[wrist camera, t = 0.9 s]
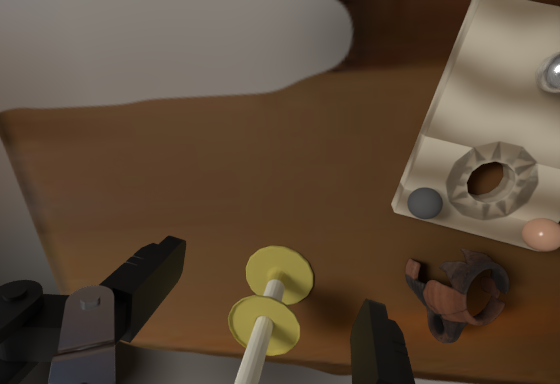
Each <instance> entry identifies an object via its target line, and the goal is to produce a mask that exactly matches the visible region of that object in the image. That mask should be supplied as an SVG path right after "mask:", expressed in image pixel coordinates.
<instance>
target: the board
mask: <svg viewBox="0 0 560 384" xmlns="http://www.w3.org/2000/svg"><path fill="white" fill-rule="evenodd" d="M557 52H560V7H559V6H554V5H549V4H544V3H539V2H533V1H528V0H472V1H471V4H470V6H469V9H468V11H467V14H466V16H465V19H464V22H463V24H462V27H461V29H460V32H459V34H458V37H457V39H456V42H455V44H454V47H453V49H452V52H451V54H450V57H449V59H448V62H447V64H446V67H445V70H444V72H443V75H442V77H441V80H440V82H439V85H438V87H437V90H436V92H435V95H434V97H433V100H432V102H431V105H430V107H429V110H428V113H427V115H426V118H425V120H424V123H423V125H422V128H421V130H420V133H419V135H418V138H417V140H416V143H415V145H414V148H413V150H412V153H411V156H410V158H409V161H408V163H407V166H406V168H405V171H404V173H403V176H402V178H401V181H400V183H399V186H398V188H397V191H396V193H395V196H394V198H393V201H392V204H391V205H392V207H393V210H394V212H395V213H399V214H402V215H406V216H410V217H413V218H417V217H415V216H414V215H412V214H411V212H410V211H409V209H408V206H407V201H408V197H409V195H410V194H411V193H412V192H413V191H414V190H416V189H418V188H422V187H428V188H432V189H434V190H436V191H437V192H438V193H439V194H440V196H441V197H442V200H443V207H442V210H441V212H440V213H439V214H438V215H437V216H436V217H434V218H431V219H421V220H424V221H428V222H432V223H435V224H439V225H443V226H447V227H450V228H454V229H458V230H461V231H465V232H469V233H472V234H476V235H480V236H483V237H487V238H491V239H495V240H498V241H502V242H506V243H509V244H513V245H517V246H520V247H524V248H528V249H531V250H534V249H532V248H531V247H529V246H528V245H527V244H526V243H525V242H524V241H523V239H522V236H521V230H522V228H523V226H524V225H525V224H526V223H527V222H528V221H530V220H532V219H536V218H547V219H550V220H553V221H555V222H557V223H558V222H559V221H560V93H550V92H546V91H544V90H542V89H541V88H540V87H539V86H538V85H537V83H536V81H535V73H536V70H537V68H538V66H539V65H540V64H541V62H542V61H543V60H545V59H546V58H547V57H549V56H550V55H552V54H554V53H557ZM494 161H496V162H499V163H500V164H501V165H502V166H503V174H504V176H503V178H502V180H501V182H500V184H499V186H498V187H496V188H495V189H494V190H492V191H491V192H489V193H486V194H481V195H474V194H470V193H468V190H467V181H468V179H469V176H470V174H471V172H472V171H474V170H475V169H476V168H478V167H479V166H480V165H482V164H485V163H490V162H494ZM417 219H420V218H417ZM535 251H538V250H535ZM539 252H540V251H539Z"/></svg>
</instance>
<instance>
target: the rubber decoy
mask: <svg viewBox="0 0 560 384" xmlns="http://www.w3.org/2000/svg"><path fill="white" fill-rule="evenodd" d="M407 206H408V209H409V211H410V212H411V214H412V215H414V216H415V217H417V218H420V219H431V218H434V217H436V216H437V215H438V214H439V213H440V212H441V210H442V207H443V200H442V197H441V196H440V194H439V193H438V192H437V191H436V190H434V189H432V188H428V187H422V188H418V189H416V190H414V191H413V192H412V193H411V194H410V195H409V197H408V201H407Z"/></svg>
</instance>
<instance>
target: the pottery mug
mask: <svg viewBox="0 0 560 384" xmlns="http://www.w3.org/2000/svg"><path fill="white" fill-rule="evenodd" d="M461 251H462V252H463V254H464V256H465V259H466V262H467V264H466V263H464V262H461V261H454V262H449V261H446V262H444V263H442V264H441V265H440V267H439V268H440V269H441V270H442V271H444V272H446V275H447V277H448V278H449V280H450V282H451V285H452V287H449V286H446V285H444V284H441V283H440V282H438V281H436V280H430V281H428V282H427V284H425V283H422V282H420V281H419V280H418V273H419V269H420V266H421V264H420V263H418V262H416V261H414V260H412V259H409V260H408V262H407V265H406V281H407V283H408V285H409V287H410V288H411V289H412V290H413V291H414V293H415V294H416V295H417V296H418V298H419V299H420V300H421V301H422V303H423V304H424V305H425V306H426V307H427V318H428V326H429V329H430V331H431V333H432V335H433V336H434V337H435V338H436V339H437V340H438V341H441V342H442V343H453V342H455V341H456V340H457V339H458V338H459V336H460V334H461V332H462V329H463V328H464V326H466V325H467V324H468V323H470V324H472V325H475V326H482V325H486V324H488V323H490V322H492V321H493V320H494V319H496V317H497V316H498V315H499V314H500V313H501V311H502V310H503V308H504V306H505V303H504V302H502V301H500V300H498V297H499V293H500V291H501V292H503V293H505V294H507V293H508V291H509V288H510V284H509V278H508V275H507V273H506V271H505V270H504V269H503V268H502V267H501V266H500V265H499V264H497V263H494V262H493V261H492V259H491V258H490V257H489V256H486V254H484V253H479V252H473V251H470V250H467V249H463V248H461ZM487 269H491V276H490V277H482V278H481V287H482V290H483V291H485V292H489V293H490V294H491V295H492V296H491V299H490V301H489V303H488V304H487V306H486V307H485V309H484V310H482V311H481V312H480V313H479V314H477V315H476V316H474V317H473V316H471V315H470V313H469V311H468V309H467V304H466V297H467V295H466V294H467V292H468V289H469V286H470V284H471V282H472V281H473V279H474V278H475V277H476V276H477V275H478V274H479V273H480V272H482V271H484V270H487ZM442 321H443V322H442ZM443 323H444V325H443Z"/></svg>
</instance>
